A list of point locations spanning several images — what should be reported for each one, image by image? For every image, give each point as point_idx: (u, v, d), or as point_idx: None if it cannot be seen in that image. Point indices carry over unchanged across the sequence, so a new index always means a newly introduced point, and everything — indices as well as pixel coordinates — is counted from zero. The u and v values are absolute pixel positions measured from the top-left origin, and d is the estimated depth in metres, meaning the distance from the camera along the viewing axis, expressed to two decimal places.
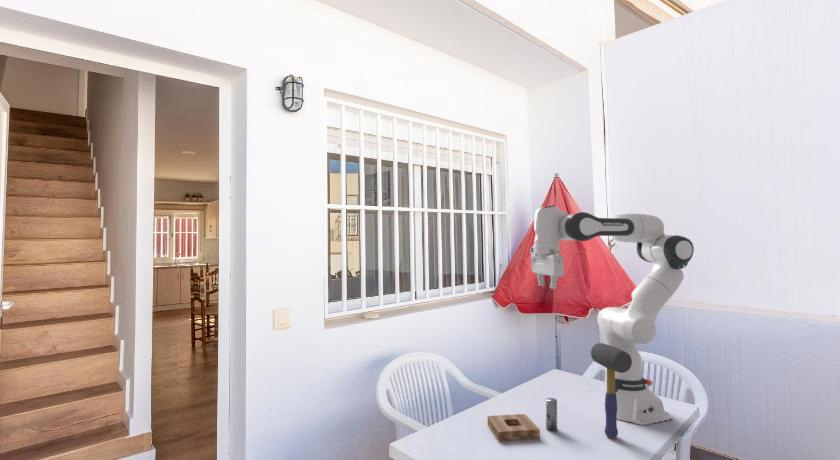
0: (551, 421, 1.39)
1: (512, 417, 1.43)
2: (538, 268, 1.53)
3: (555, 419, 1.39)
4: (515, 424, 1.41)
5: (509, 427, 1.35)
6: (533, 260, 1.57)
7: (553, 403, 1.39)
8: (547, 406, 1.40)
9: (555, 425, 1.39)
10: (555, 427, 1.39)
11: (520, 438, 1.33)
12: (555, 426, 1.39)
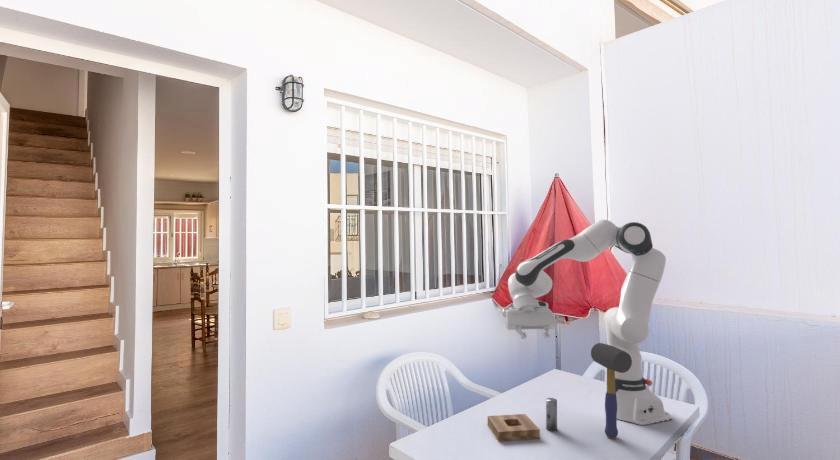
0: (551, 421, 1.39)
1: (512, 417, 1.43)
2: None
3: (555, 419, 1.39)
4: (515, 424, 1.41)
5: (509, 427, 1.35)
6: None
7: (553, 403, 1.39)
8: (547, 406, 1.40)
9: (555, 425, 1.39)
10: (555, 427, 1.39)
11: (520, 438, 1.33)
12: (555, 426, 1.39)
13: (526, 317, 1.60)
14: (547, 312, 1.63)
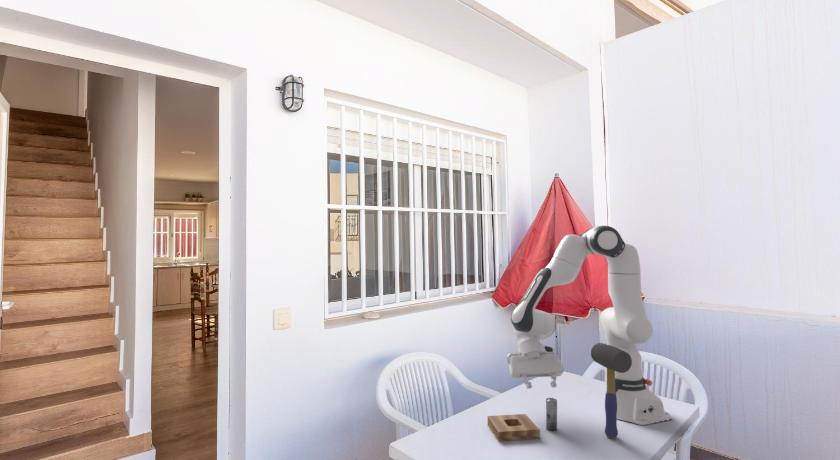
0: (551, 421, 1.39)
1: (512, 417, 1.43)
2: None
3: (555, 419, 1.39)
4: (515, 424, 1.41)
5: (509, 427, 1.35)
6: None
7: (553, 403, 1.39)
8: (547, 406, 1.40)
9: (555, 425, 1.39)
10: (555, 427, 1.39)
11: (520, 438, 1.33)
12: (555, 426, 1.39)
13: (532, 364, 1.52)
14: (554, 358, 1.55)
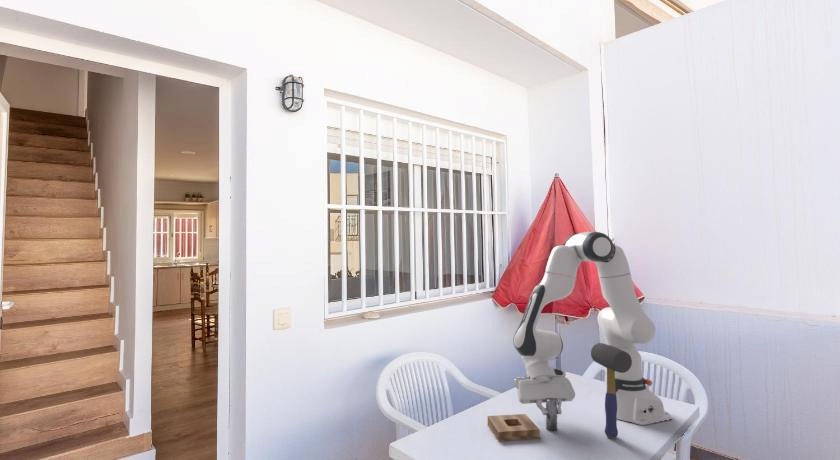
0: (550, 421, 1.39)
1: (512, 417, 1.43)
2: None
3: (555, 419, 1.39)
4: (515, 424, 1.41)
5: (509, 427, 1.35)
6: None
7: (553, 403, 1.39)
8: (547, 406, 1.40)
9: (555, 425, 1.39)
10: (555, 427, 1.39)
11: (520, 438, 1.33)
12: (555, 426, 1.39)
13: (541, 389, 1.44)
14: (565, 382, 1.47)
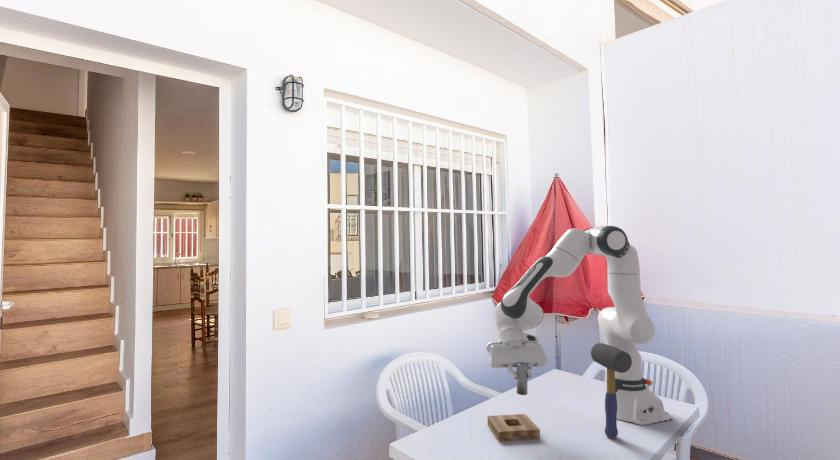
0: (521, 385, 1.38)
1: (512, 417, 1.43)
2: None
3: (525, 383, 1.38)
4: (515, 424, 1.41)
5: (509, 427, 1.35)
6: None
7: (523, 366, 1.38)
8: (518, 370, 1.39)
9: (525, 389, 1.38)
10: (525, 390, 1.38)
11: (520, 438, 1.33)
12: (525, 390, 1.38)
13: (512, 353, 1.43)
14: (537, 348, 1.46)
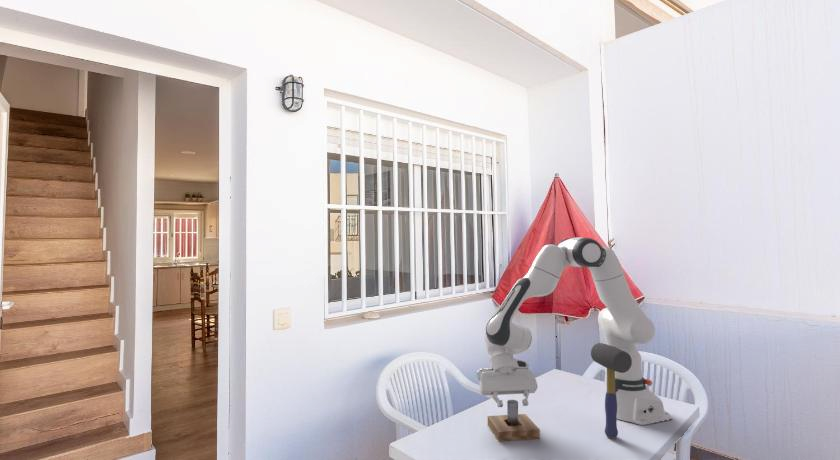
0: (511, 423, 1.37)
1: None
2: None
3: (516, 421, 1.37)
4: None
5: (509, 427, 1.35)
6: None
7: (513, 405, 1.37)
8: (508, 408, 1.38)
9: None
10: None
11: (520, 438, 1.33)
12: None
13: (503, 381, 1.42)
14: (528, 374, 1.45)
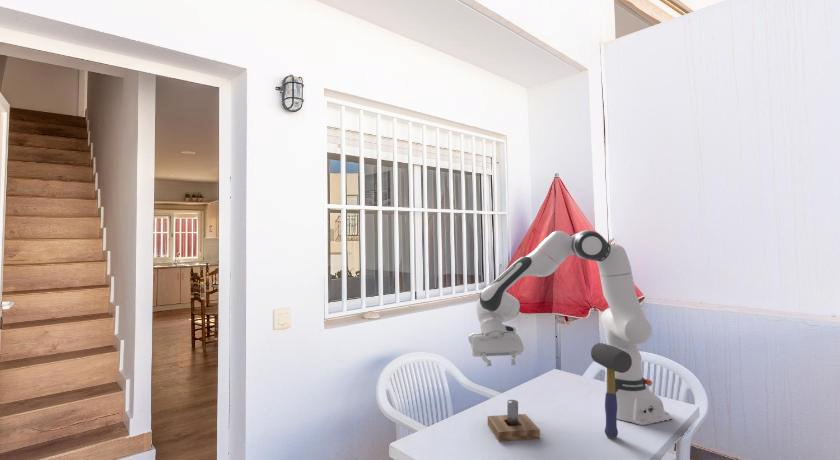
0: (511, 423, 1.37)
1: None
2: None
3: (516, 421, 1.37)
4: None
5: (509, 427, 1.35)
6: None
7: (513, 405, 1.37)
8: (508, 408, 1.38)
9: None
10: None
11: (520, 438, 1.33)
12: None
13: (492, 343, 1.56)
14: (515, 338, 1.58)
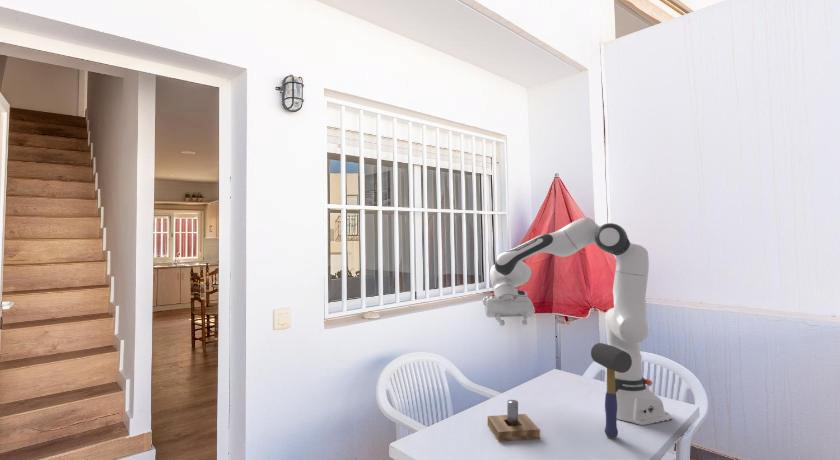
0: (511, 423, 1.37)
1: None
2: None
3: (516, 421, 1.37)
4: None
5: (509, 427, 1.35)
6: None
7: (513, 405, 1.37)
8: (508, 408, 1.38)
9: None
10: None
11: (520, 438, 1.33)
12: None
13: (505, 305, 1.67)
14: (526, 301, 1.69)
